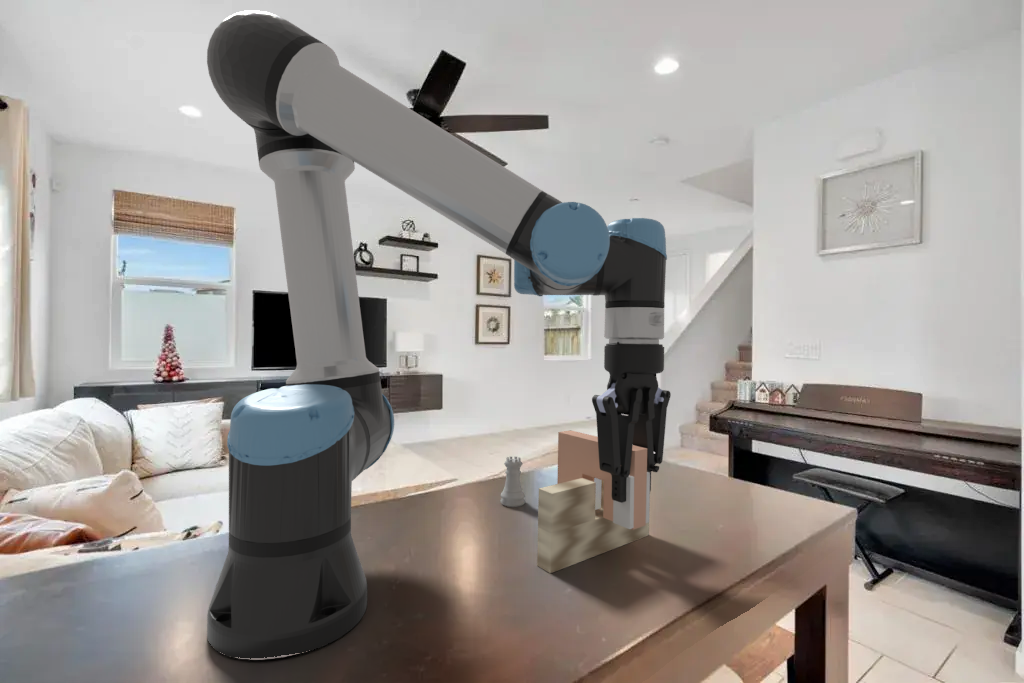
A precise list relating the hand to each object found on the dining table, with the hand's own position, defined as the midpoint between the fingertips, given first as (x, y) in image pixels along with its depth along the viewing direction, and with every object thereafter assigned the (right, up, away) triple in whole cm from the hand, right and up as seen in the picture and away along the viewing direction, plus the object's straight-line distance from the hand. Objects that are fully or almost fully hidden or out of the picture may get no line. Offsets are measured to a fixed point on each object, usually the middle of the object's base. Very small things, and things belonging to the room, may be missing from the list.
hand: (631, 522), depth 65 cm
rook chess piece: (-15, -5, +22) cm, 28 cm away
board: (-4, -5, +4) cm, 8 cm away
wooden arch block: (-4, 0, +5) cm, 6 cm away
